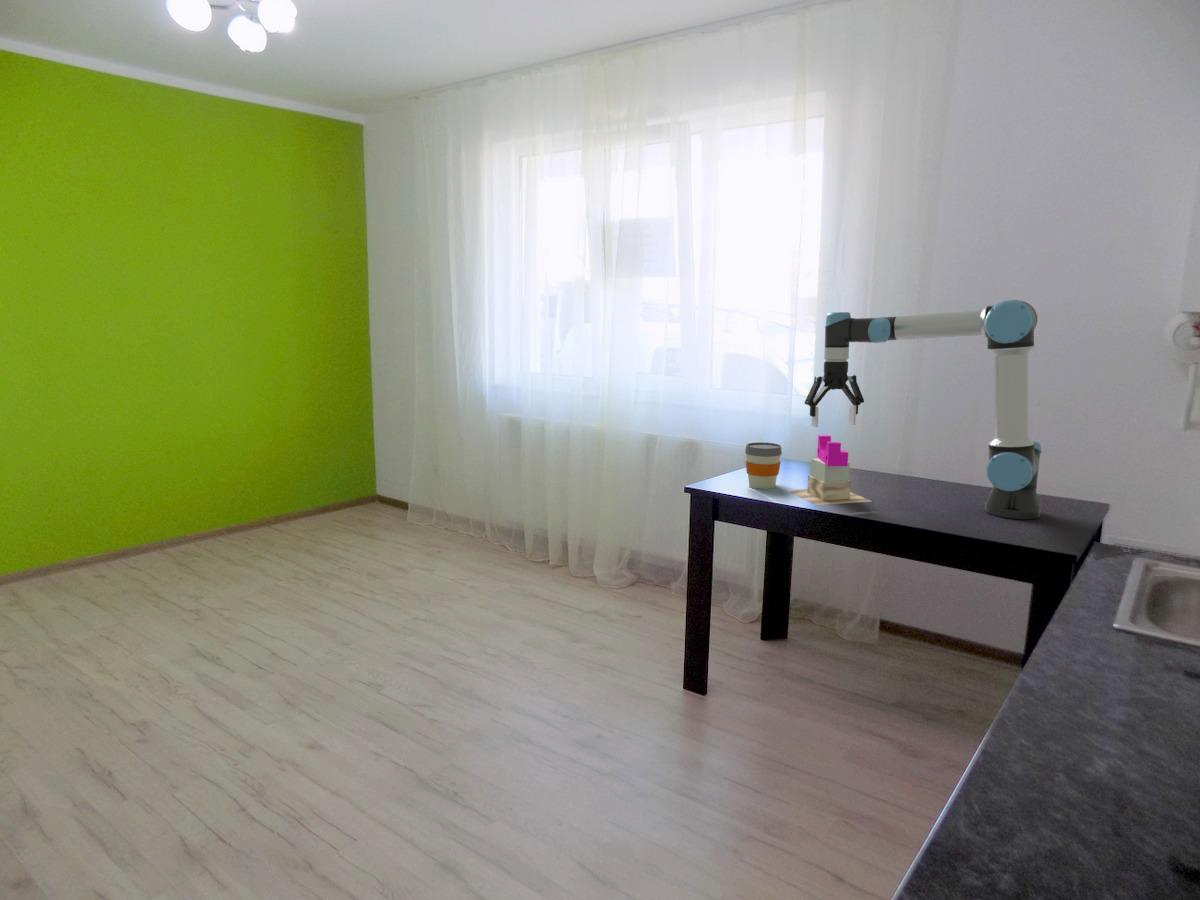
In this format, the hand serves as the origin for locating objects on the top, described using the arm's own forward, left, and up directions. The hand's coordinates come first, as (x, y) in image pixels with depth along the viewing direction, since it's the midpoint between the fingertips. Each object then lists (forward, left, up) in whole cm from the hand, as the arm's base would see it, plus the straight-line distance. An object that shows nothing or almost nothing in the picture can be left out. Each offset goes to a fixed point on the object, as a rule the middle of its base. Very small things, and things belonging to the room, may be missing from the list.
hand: (833, 425), depth 247 cm
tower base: (0, 0, -24) cm, 24 cm away
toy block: (-1, 0, -12) cm, 12 cm away
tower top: (0, 0, -18) cm, 18 cm away
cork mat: (0, 0, -24) cm, 24 cm away
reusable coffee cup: (+19, +15, -25) cm, 35 cm away
